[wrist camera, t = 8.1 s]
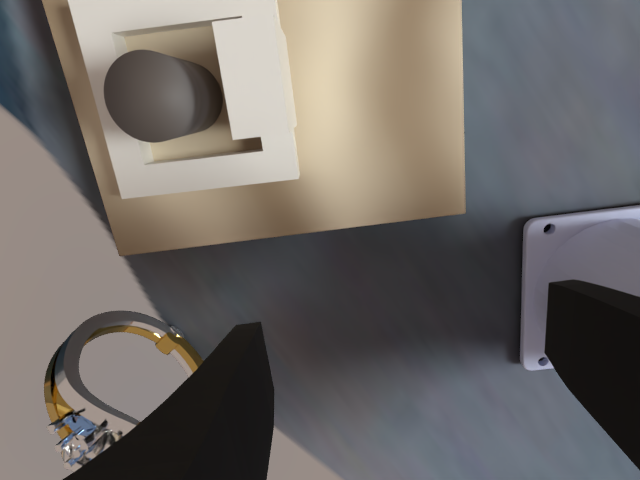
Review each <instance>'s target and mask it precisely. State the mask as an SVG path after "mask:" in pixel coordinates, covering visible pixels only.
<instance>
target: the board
mask: <svg viewBox="0 0 640 480" xmlns="http://www.w3.org/2000/svg"><path fill="white" fill-rule="evenodd" d="M42 2H43V6H44V9H45V12H46V16H47V19H48V22H49V25H50V29H51V32H52V35H53V39H54V42H55V45H56V49H57V52H58V55H59V58H60V62H61V65H62V68H63V72H64V75H65V78H66V81H67V85H68V88H69V91H70V95H71V98H72V101H73V105H74V108H75V111H76V114H77V118H78V121H79V124H80V128H81V131H82V134H83V138H84V141H85V144H86V147H87V151H88V154H89V157H90V161H91V164H92V167H93V170H94V174H95V177H96V180H97V184H98V187H99V190H100V194H101V197H102V200H103V203H104V207H105V210H106V213H107V217H108V220H109V223H110V226H111V230H112V233H113V236H114V240H115V243H116V246H117V250H118V253H119V256H125V255H133V254H141V253H149V252H157V251H166V250H174V249H182V248H190V247H198V246H206V245H214V244H222V243H230V242H238V241H246V240H255V239H263V238H271V237H279V236H287V235H295V234H303V233H311V232H319V231H327V230H335V229H344V228H352V227H360V226H368V225H376V224H384V223H392V222H400V221H408V220H416V219H424V218H433V217H441V216H449V215H457V214H465V213H466V206H465V155H464V104H463V53H462V2H461V0H277V3H278V10H279V18H280V26H281V29H282V31H283V32H284V34H285V36H286V43H287V51H288V58H289V66H290V74H291V82H292V90H293V98H294V105H295V113H296V121H297V126H296V127H295V128H294V133H295V140H296V148H297V156H298V163H299V171H300V176H299V179H294V180H285V181H277V182H268V183H259V184H250V185H241V186H233V187H224V188H215V189H206V190H198V191H189V192H180V193H171V194H163V195H154V196H145V197H136V198H128V199H122V198H121V194H120V191H119V187H118V183H117V180H116V176H115V172H114V169H113V165H112V161H111V158H110V154H109V150H108V147H107V143H106V139H105V136H104V132H103V128H102V125H101V121H100V117H99V114H98V110H97V106H96V103H95V99H94V95H93V92H92V88H91V84H90V81H89V77H88V73H87V70H86V66H85V62H84V58H83V55H82V51H81V47H80V44H79V40H78V36H77V33H76V29H75V25H74V22H73V18H72V14H71V11H70V7H69V3H68V0H42ZM124 38H125V43H126V47H127V51H128V52H127V53H125V54H123V55H121V56H120V57H119V58H117V59H116V60H115V61H114V62H113V64H112V65H111V66H110V68H109V70H108V72H107V74H106V77H105V81H104V99H105V104H106V107H107V110H108V112H109V114H110V116H111V117H112V119H113V121H114V122H115V123H116V124H117V126H118V127H119V128H120V129H121V130H123V131H124V132H125V133H126V134H128V135H130V136H131V137H133V138H135V139H137V140H140V141H144V142H150V147H151V151H152V155H153V159H154V161H162V160H170V159H179V158H187V157H196V156H205V155H213V154H222V153H230V152H239V151H247V150H256V149H263V148H262V141H261V137H254V138H246V139H237V140H233V139H232V133H231V127H230V122H229V116H228V111H227V105H226V99H225V94H224V88H223V82H222V77H221V71H220V65H219V60H218V54H217V49H216V43H215V37H214V32H213V26H204V27H197V28H189V29H181V30H173V31H166V32H158V33H150V34H143V35H135V36H127V37H124Z"/></svg>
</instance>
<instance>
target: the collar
mask: <svg viewBox="0 0 640 480" xmlns="http://www.w3.org/2000/svg"><path fill="white" fill-rule="evenodd" d="M68 3H69V7H70V11H71V14H72V18H73V22H74V25H75V29H76V33H77V36H78V40H79V44H80V47H81V51H82V55H83V58H84V62H85V66H86V70H87V73H88V77H89V81H90V84H91V88H92V92H93V95H94V99H95V103H96V106H97V110H98V114H99V117H100V121H101V125H102V128H103V132H104V136H105V139H106V143H107V147H108V150H109V154H110V158H111V161H112V165H113V169H114V172H115V176H116V180H117V183H118V187H119V191H120V194H121V198H122V199H128V198H136V197H145V196H154V195H163V194H171V193H180V192H189V191H198V190H206V189H215V188H224V187H233V186H241V185H250V184H259V183H268V182H277V181H285V180H294V179H299V176H300V171H299V163H298V156H297V148H296V140H295V133H294V128H295V127H296V126H297V121H296V113H295V105H294V98H293V90H292V82H291V74H290V66H289V58H288V51H287V43H286V36H285V34H284V32H283V31H282V29H281V26H280V18H279V10H278V3H277V0H68ZM204 26H213V32H214V37H215V43H216V49H217V54H218V60H219V65H220V71H221V77H222V82H223V88H224V94H225V99H226V105H227V111H228V116H229V122H230V127H231V133H232V139H233V140H237V139H246V138H254V137H261V141H262V148H263V149H256V150H247V151H239V152H230V153H222V154H213V155H205V156H196V157H187V158H179V159H170V160H162V161H154V159H153V155H152V151H151V147H150V142H144V141H140V140H137V139H135V138H133V137H131V136H130V135H128V134H126V133H125V132H124V131H123V130H121V129H120V128H119V127H118V126H117V124H116V123H115V122H114V121H113V119H112V117H111V116H110V114H109V112H108V110H107V107H106V104H105V99H104V81H105V77H106V74H107V72H108V70H109V68H110V66H111V65H112V64H113V62H114V61H115V60H116V59H117V58H119V57H120V56H121V55H123V54H125V53H127V52H128V51H127V47H126V43H125V38H124V37H127V36H135V35H143V34H150V33H158V32H166V31H173V30H181V29H189V28H197V27H204Z"/></svg>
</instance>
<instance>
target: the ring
mask: <svg viewBox="0 0 640 480" xmlns="http://www.w3.org/2000/svg"><path fill="white" fill-rule="evenodd" d="M113 332H129V333H134V334H138V335H141V336H144V337H146V338H148V339H150V340H152V341H154V342H156V347H157V348H158V349H159V350H160V351H161V352H162V353H164V354H167V355H168V354H169V353H170V354H171V355H172V356H173V357H174V358H175V359H176V360H177V361H178V362H179V364H180V365H181V366H182V368H183V369H184V371H185V372H186V374H187V376H188V378H189V377H190V376H191V375H192V374H193V373H194V372H195V371H196V370H197V368H198V367H199V366H200V365H201V364H202V363H203V362H204V361H203V360H202V358H201V357H200V356H199V354H198V353H197V352H196V350H195V349H194V348H193V347H192V346H191V345H190V344H189V343H188V342H187V341H186V340H185V339H184V338H183V337H184V334H183V333H182V332H181V331H180V330H179V329H178V328H177V327H175V326H171V327H170V326H168V325H166V324H165V323H163V322H161V321H159V320H157V319H155V318H153V317H150V316H148V315H145V314H141V313H137V312H131V311H111V312H105V313H101V314H98V315H96V316H93V317H91V318H89V319H88V320H86V321H85V322H83V323H82V324H81V325H80V326H79V327H78V328H77V329H76V330H75V331H73V332H72V333H71V334H70V336H69V337H68V338H67V339H66V341H65V342H63V344H62V345H61V346H60V347H59V348H58V349H57V351H56V352H55V354H54V355H53V357H52V359H51V361H50V363H49V365H48V368H47V371H46V376H45V383H44V395H45V403H46V407H47V411H48V414H49V417H50V419H51V422H52V423H51V424H50V425H48V426H47V429H48V431H49V432H50V434H51V435H53V434H54V433H56V432H57V433H58V434H59V436H60V438H61V439H62V440H61V441H60V442H59V443H58V444H56V445H55V447H54V449H55V451H56V452H61V454H62V458H63V461H64V464H63V466H64V468H65V469H67V470H69V469H70V470H71V471H72V472H75V471H76V470H78V469H79V468H81V467H82V466H83V465H85V464H86V463H87V462H89V461H90V460H92V459H93V458H94V457H96V456H97V455H99V454H100V453H101V452H103V451H104V450H105V449H107V448H108V447H110V446H111V445H112V444H114V443H115V442H117V441H118V440H119V439H121V438H122V437H123V436H124V435H126V434H127V433H128V432H129V431H131V430H132V429H133V428H134V427H135V426H137V425H138V424H139V423H140V422H139V421H138V420H136V419H134V418H132V417H130V416H128V415H126V414H124V413H122V412H120V411H118V410H116V409H114V408H112V407H110V406H109V405H107V404H105V403H104V402H102V401H101V400H99V399H98V398H96V397H95V396H94V395H92V394H91V393H90V392H89V391H88V390H87V389H86V387H85V386H84V384H83V383H82V381H81V378H80V375H79V358H80V354H81V351H82V348H83V347H84V346H85V345H86V343H88V342H90V341H91V340H93V339H95V338H97V337H99V336H101V335H104V334H108V333H113Z"/></svg>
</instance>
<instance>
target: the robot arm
mask: <svg viewBox="0 0 640 480" xmlns="http://www.w3.org/2000/svg"><path fill="white" fill-rule="evenodd" d="M547 224H551V228H550V229H549V230H548V231H547V232H544V227H545V226H546V225H547ZM542 357H544V359H543V360H542V361H538V360H539V359H540V358H542ZM520 362H521V364H522V365H523V367H524V368H525V369H527V370H541V369H551V368H554V369H555V370H556V372H557V373H558V375H559V376H560V378H561V379H562V381H563V382H564V383H565V385H566V386H567V388H568V389H569V390H570V391H571V392H572V394H573V395H574V396H575V397H576V398H577V399H578V401H579V402H580V403H581V404H582V405H583V406H584V408H585V409H586V410H587V411H588V412H589V413H590V414H591V416H592V417H593V418H594V419H595V420H596V421H597V422H598V424H599V425H600V426H601V427H602V428H603V429H604V430H605V431H606V433H607V434H608V435H609V436H610V437H611V438H612V439H613V440H614V442H615V443H616V444H617V445H618V446H619V447H620V448H621V449H622V451H623V452H624V453H625V454H626V455H627V456H628V457H629V459H630V460H631V461H632V462H633V463H634V464H635V465H636V466H637V468H638V469H639V470H640V205H636V206H628V207H619V208H611V209H603V210H595V211H587V212H578V213H570V214H562V215H554V216H546V217H538V218H533V219H530V220H529V221H527V222H526V224H525V225H524V229H523V263H522V301H521V339H520ZM273 428H274V386H273V381H272V376H271V371H270V366H269V361H268V356H267V351H266V346H265V341H264V336H263V332H262V327H261V322H256V323H249V324H241V325H236V326H235V327H234V328H233V329H232V330H231V331H230V332H229V334H228V335H227V336H226V337H225V338H224V339H223V340H222V342H221V343H220V344H219V345H218V346H217V347H216V348H215V350H214V351H213V352H212V353H211V354H210V355H209V356H208V357H207V358H206V360H205V361H204V362H203V363H202V364H201V365H200V366H199V367H198V368H197V370H196V371H195V372H194V373H193V374H192V375H191V376H190V377H189V378H188V379H187V380H186V381H185V382H184V383H183V384H182V385H181V386H180V387H179V388H178V389H177V390H176V391H175V392H174V393H173V394H172V395H171V396H170V397H169V398H168V399H166V400H165V401H164V402H163V403H162V404H161V405H160V406H159V407H158V408H157V409H156V410H154V411H153V412H152V413H151V414H150V415H149V416H148V417H146V418H145V419H144V420H143V421H142V422H140V423H139V424H138V425H137V426H135V427H134V428H133V429H132V430H131V431H129V432H128V433H127V434H126V435H124V436H123V437H122V438H121V439H119V440H118V441H117V442H115V443H114V444H112V445H111V446H110V447H108V448H107V449H105V450H104V451H103V452H101V453H100V454H99V455H97V456H96V457H94V458H93V459H92V460H90V461H89V462H87V463H86V464H85V465H83V466H82V467H81V468H79V469H78V470H76V471H75V472H73V473H72V474H70V475H69V476H68V477H66V478H64V479H63V480H266V479H267V472H268V465H269V457H270V450H271V442H272V435H273Z"/></svg>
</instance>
